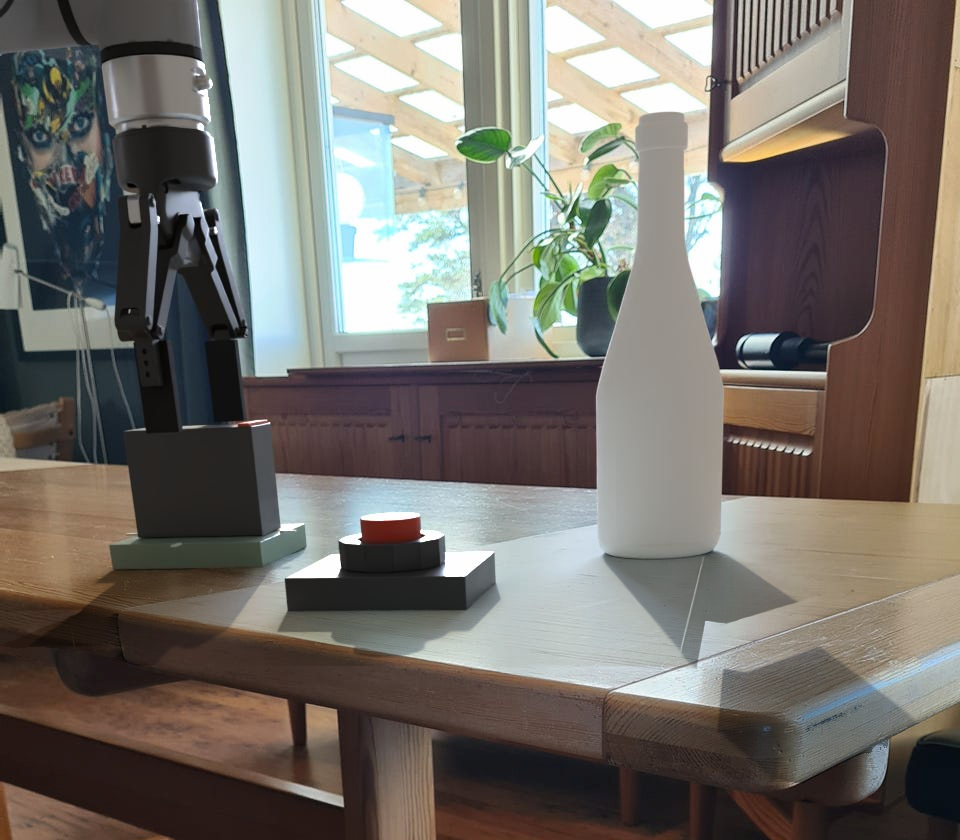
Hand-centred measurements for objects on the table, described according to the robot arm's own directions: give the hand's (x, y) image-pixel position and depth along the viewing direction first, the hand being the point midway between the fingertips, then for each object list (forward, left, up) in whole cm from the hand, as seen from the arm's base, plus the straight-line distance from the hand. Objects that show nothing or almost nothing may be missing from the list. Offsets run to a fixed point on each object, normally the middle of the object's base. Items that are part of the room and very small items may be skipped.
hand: (199, 427), depth 105 cm
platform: (0, 0, -11) cm, 11 cm away
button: (+24, -15, -7) cm, 29 cm away
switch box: (+24, -15, -11) cm, 30 cm away
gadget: (0, 0, -8) cm, 8 cm away
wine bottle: (+37, +6, -11) cm, 39 cm away
